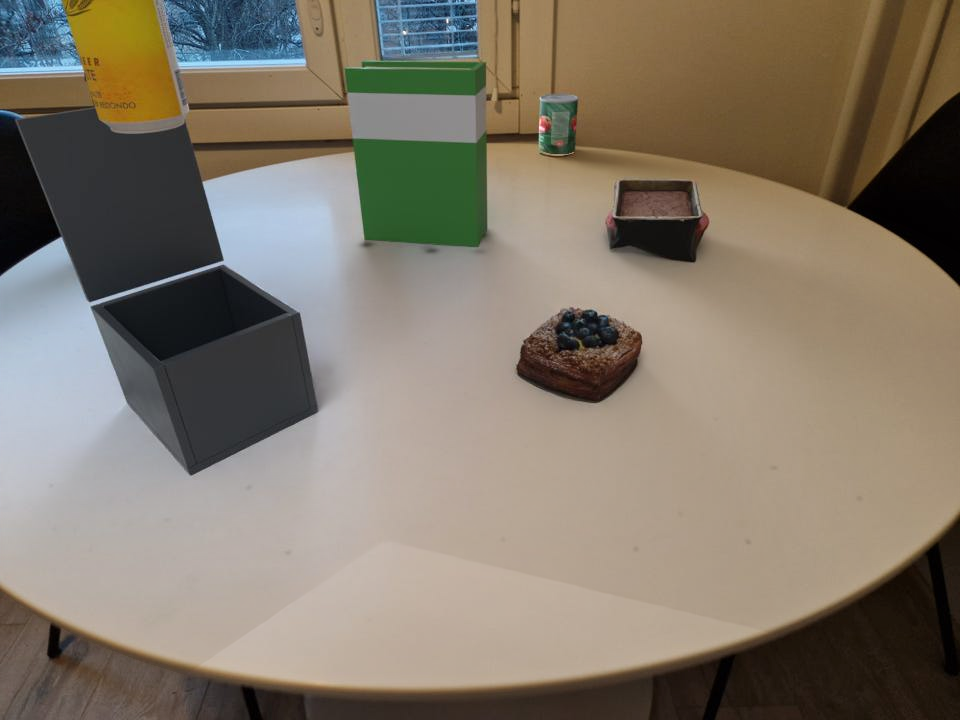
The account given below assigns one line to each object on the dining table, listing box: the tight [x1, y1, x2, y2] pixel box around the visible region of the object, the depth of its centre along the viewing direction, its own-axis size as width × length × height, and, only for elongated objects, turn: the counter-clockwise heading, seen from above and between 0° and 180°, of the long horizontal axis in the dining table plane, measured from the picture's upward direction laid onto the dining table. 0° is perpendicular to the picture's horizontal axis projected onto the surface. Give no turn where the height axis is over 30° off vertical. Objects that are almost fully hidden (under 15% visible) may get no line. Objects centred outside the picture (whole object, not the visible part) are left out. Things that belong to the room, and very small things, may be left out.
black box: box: [90, 263, 319, 476], centre depth 60 cm, size 15×13×11 cm
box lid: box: [14, 106, 225, 303], centre depth 59 cm, size 15×13×6 cm
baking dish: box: [604, 177, 710, 263], centre depth 94 cm, size 14×18×10 cm
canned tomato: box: [538, 93, 579, 154], centre depth 136 cm, size 8×8×11 cm
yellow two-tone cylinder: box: [61, 0, 190, 134], centre depth 44 cm, size 6×6×15 cm
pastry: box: [515, 306, 643, 404], centre depth 66 cm, size 11×12×6 cm
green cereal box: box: [343, 59, 488, 248], centre depth 94 cm, size 18×7×24 cm, turn 79°
